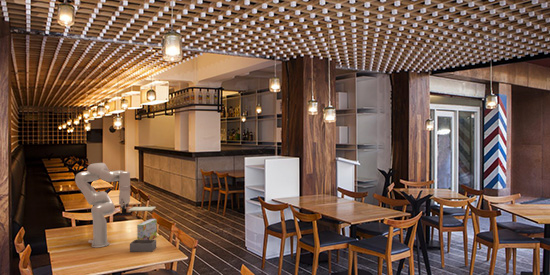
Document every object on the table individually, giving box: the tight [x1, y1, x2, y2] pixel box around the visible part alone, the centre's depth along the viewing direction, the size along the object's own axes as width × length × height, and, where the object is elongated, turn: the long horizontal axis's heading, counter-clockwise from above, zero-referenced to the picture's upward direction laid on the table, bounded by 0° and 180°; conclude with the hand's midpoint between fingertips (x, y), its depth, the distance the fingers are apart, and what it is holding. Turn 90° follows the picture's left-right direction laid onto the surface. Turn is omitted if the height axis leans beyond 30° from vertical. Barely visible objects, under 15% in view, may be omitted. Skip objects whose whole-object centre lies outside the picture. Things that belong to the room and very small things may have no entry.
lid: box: [126, 206, 157, 213], centre depth 289 cm, size 23×11×3 cm, turn 90°
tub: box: [129, 239, 157, 253], centre depth 290 cm, size 16×10×6 cm, turn 90°
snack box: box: [136, 218, 158, 240], centre depth 315 cm, size 21×6×15 cm, turn 168°
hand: (125, 213), depth 289 cm, fingers closed on lid, 3 cm apart
